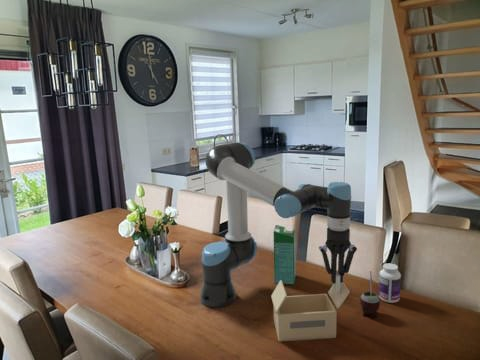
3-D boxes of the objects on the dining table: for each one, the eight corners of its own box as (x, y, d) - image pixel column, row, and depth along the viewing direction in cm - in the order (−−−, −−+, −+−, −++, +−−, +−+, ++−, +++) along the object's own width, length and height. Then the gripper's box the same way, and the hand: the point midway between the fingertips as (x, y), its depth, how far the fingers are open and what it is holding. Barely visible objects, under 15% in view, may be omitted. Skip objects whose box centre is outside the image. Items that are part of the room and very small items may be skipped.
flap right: (336, 308, 123) (348, 291, 122) (327, 292, 133) (338, 276, 132) (338, 309, 123) (350, 292, 122) (328, 293, 134) (339, 277, 132)
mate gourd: (369, 321, 133) (370, 284, 130) (354, 310, 140) (355, 275, 137) (384, 315, 136) (386, 279, 133) (369, 305, 143) (370, 270, 140)
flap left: (272, 296, 133) (281, 280, 131) (276, 313, 122) (287, 295, 121) (270, 296, 133) (280, 279, 131) (275, 312, 122) (285, 295, 121)
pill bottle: (399, 295, 150) (400, 263, 147) (400, 305, 142) (402, 271, 139) (378, 292, 152) (379, 260, 149) (378, 302, 145) (380, 269, 142)
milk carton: (294, 284, 162) (294, 231, 157) (274, 283, 164) (273, 231, 158) (295, 275, 171) (295, 225, 165) (276, 274, 172) (275, 224, 167)
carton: (278, 341, 124) (278, 315, 122) (273, 321, 135) (273, 297, 133) (336, 337, 124) (336, 311, 122) (326, 317, 136) (326, 293, 134)
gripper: (322, 232, 118) (321, 297, 123) (361, 230, 119) (358, 295, 124) (316, 224, 126) (315, 286, 131) (353, 223, 126) (350, 284, 131)
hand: (336, 290), depth 127 cm, fingers closed
